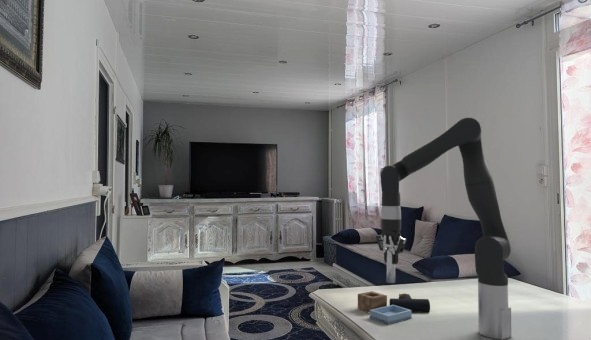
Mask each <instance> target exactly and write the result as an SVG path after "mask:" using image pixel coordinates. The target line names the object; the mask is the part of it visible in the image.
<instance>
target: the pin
mask: <svg viewBox="0 0 591 340" xmlns="http://www.w3.org/2000/svg"><path fill="white" fill-rule="evenodd" d="M392 254H393V253H392V249H390V250H387V263H386V283H388V284H395V283H396V264H392Z"/></svg>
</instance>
